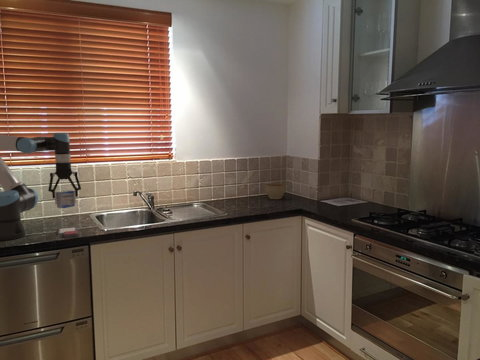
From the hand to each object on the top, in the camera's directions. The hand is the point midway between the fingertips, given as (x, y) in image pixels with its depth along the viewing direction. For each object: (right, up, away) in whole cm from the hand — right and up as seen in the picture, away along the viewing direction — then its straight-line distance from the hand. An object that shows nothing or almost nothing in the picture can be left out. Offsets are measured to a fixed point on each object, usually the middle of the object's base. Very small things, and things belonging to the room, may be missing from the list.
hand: (65, 203), depth 225 cm
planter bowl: (+121, -2, +93) cm, 153 cm away
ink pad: (+6, -16, -7) cm, 18 cm away
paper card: (0, -15, +2) cm, 15 cm away
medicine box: (0, -2, 0) cm, 2 cm away
